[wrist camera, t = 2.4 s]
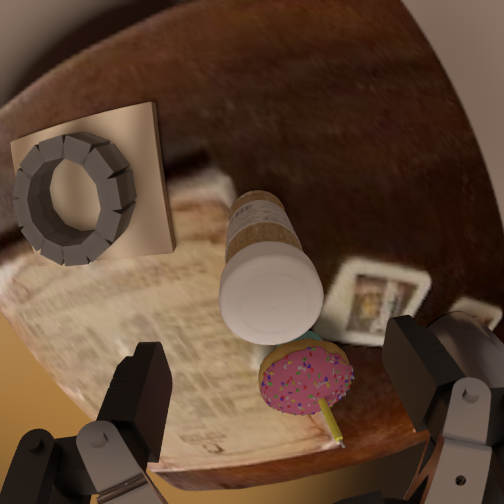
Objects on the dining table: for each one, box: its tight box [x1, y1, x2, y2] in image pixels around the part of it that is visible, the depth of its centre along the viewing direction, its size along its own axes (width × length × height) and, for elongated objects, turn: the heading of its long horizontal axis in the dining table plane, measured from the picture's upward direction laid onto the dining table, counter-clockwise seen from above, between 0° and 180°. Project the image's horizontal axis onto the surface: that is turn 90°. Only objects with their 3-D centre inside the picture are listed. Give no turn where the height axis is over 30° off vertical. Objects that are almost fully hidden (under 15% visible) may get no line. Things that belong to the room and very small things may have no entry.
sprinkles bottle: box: [219, 190, 324, 345], centre depth 20 cm, size 5×4×13 cm
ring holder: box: [10, 102, 176, 266], centre depth 22 cm, size 14×12×5 cm
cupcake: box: [258, 331, 354, 448], centre depth 26 cm, size 9×8×12 cm
